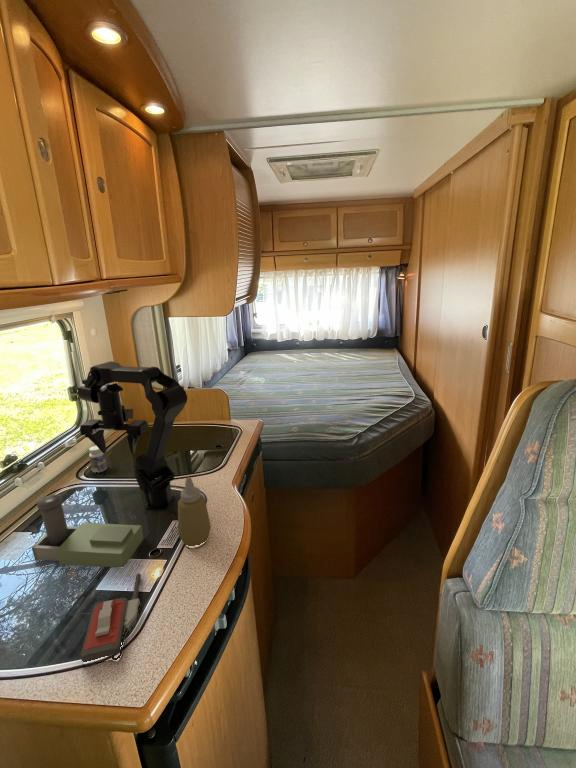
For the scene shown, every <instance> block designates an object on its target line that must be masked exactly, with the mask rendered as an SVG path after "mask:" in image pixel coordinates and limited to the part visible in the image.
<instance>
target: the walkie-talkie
mask: <svg viewBox="0 0 576 768" xmlns="http://www.w3.org/2000/svg"><path fill="white" fill-rule="evenodd" d="M141 577H142V575H141V573H136V575H135V579H134V580H135V581H134V587H133V593H132V597H131V599H130V600H128V599H127V597H120V598H116V599H110V600H108V599H107V600H106V599H105V600H103V601H100V602H97V603H96V604H95V605H94V606H93V607H92V611H91V615H90V618H89V622H88V625H87V626H88V627H87V629H86V633H85V637H84V640H83V645H82V648H81V651H80V659H81V662H82V661H83V662H87V661H91V660H95V659H98V658H101V657H105V656H110V655H112V659H113V660H117V659H118V658H120V656H121V654H122V647H121V646H122V645H123V642H124V637H125V634H126V632H127V630H128V628H129V626H130V624H131V623H132V622H133V621H134V620H135V618H136V617H137V612H138V606H139V604H140V605H141V602H140V598H139V591H140V583H141ZM124 628H125V629H126V630H125V632H124ZM123 632H124V634H123ZM126 635H127V634H126ZM122 637H123V638H122ZM125 638H126V637H125ZM121 642H122V645H121ZM124 643H125V642H124ZM120 647H121V651H120V655H119V656H118V657H117V658H114V654H116V653H117V652H118V651H119V650H120ZM122 655H123V654H122Z"/></svg>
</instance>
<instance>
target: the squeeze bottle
mask: <svg viewBox="0 0 576 768" xmlns="http://www.w3.org/2000/svg"><path fill="white" fill-rule="evenodd" d="M205 498H206V497H204V495H202V494H201V490H200V488H199V487H197V486H195V485H194V482H193V480H192V478H191V476H190V477H186V479H185V485H184V489H182V490H181V492H180V498H179V500H178V501H177V523H178V524H177V529H178V530H177V532H178V533H177V534H178V536H179V538H180V540H181V541H182V542H183V543H182V544H183V545H188V546H195V545H200V544H201V543H203V542H205V541H206V540H207V538H208V539H209V537H208V536H210V533H211V529H212V525H211V520H210V516H209V512H208V508H207V501H206V499H205ZM207 541H208V540H207Z"/></svg>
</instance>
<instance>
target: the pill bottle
mask: <svg viewBox="0 0 576 768" xmlns="http://www.w3.org/2000/svg"><path fill="white" fill-rule="evenodd" d="M88 450H89V453H88V455H89V456H88V457H89V461H90V462H89V463H90V467H91V471H92V472H93V473H96V472H97V473H101V472H104V471H105V470H107V469H108V466H107V465H108V464H107V460H106V455H105V454H106V453H102V451H101V450H100V449H99V448H98V447H97V446H96V445H92V446H90V447H89V448H88Z"/></svg>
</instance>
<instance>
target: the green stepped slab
mask: <svg viewBox="0 0 576 768" xmlns="http://www.w3.org/2000/svg"><path fill="white" fill-rule="evenodd" d="M67 529H68V533H69V537H68V538H67V540H66V541H65V542H64V543H63V544H62V545H61V546H60V547H57V546H50V545H49V541H48V537H47V534H46V533H45V534H44V535H43V536H42V537H41V538H40V539H39V540H37V542H36V543H34V545H32V547H31V551H32V555H33V558H34V560H35V561H36V560H37V561H51V562H52V561H53V562H54V561H56V562H58V563H59V565H63V566H65V565H66V566H82V567H83V566H84V567H85V566H86V567H87V566H88V567H98V568H99V567H102V568H116V567H124V566H125V567H126V565H127V564H128V563H129V561H130V559H131V557H132V556H133V555H134V553H135V552H136V550H137V549H138V548H139V546H140V545H141V543H142V542H143V540H144V535H143V528H142V525H141V524H140V525H139V524H119V523H95V522H94V523H93V522H82V523H81V524H79V526H70V525H69V526H68V525H67ZM125 567H124V568H125Z"/></svg>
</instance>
